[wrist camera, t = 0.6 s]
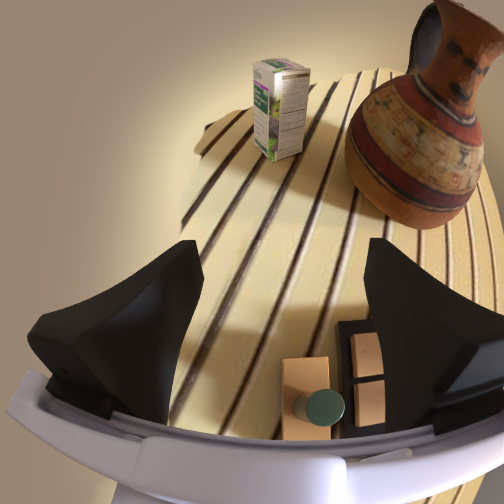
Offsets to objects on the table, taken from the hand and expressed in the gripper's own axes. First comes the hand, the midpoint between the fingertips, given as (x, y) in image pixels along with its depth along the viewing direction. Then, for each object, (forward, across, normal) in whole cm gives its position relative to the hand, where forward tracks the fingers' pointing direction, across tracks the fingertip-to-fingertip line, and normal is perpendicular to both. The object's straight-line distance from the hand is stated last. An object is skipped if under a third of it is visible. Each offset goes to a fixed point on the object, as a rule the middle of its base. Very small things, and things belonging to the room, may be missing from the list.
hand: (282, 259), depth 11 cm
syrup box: (+34, +2, +3) cm, 34 cm away
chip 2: (+1, -8, +17) cm, 19 cm away
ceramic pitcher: (+29, -17, +7) cm, 34 cm away
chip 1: (+6, -8, +15) cm, 18 cm away
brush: (+2, -2, +18) cm, 18 cm away
